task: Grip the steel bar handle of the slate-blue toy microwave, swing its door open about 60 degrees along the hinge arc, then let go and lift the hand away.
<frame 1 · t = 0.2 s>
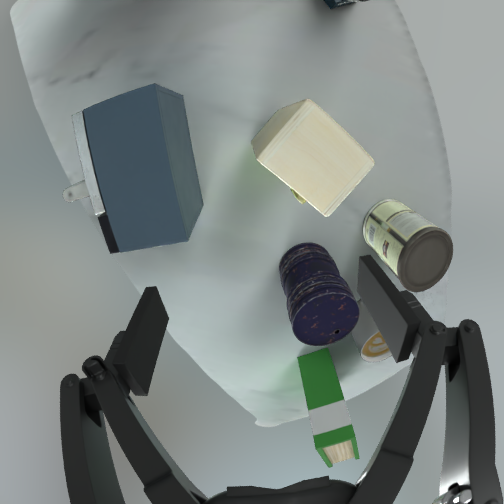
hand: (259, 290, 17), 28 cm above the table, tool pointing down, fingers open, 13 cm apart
microwave door: (92, 161, 32), point 7 cm above the table, hinge at 0.0°
storage jar: (305, 266, 49), on the table
microwave: (164, 156, 39), on the table
coffee can: (386, 224, 46), on the table
coffee mug: (368, 318, 56), on the table
hardback book: (319, 371, 63), on the table
toy refrigerator: (281, 142, 39), on the table
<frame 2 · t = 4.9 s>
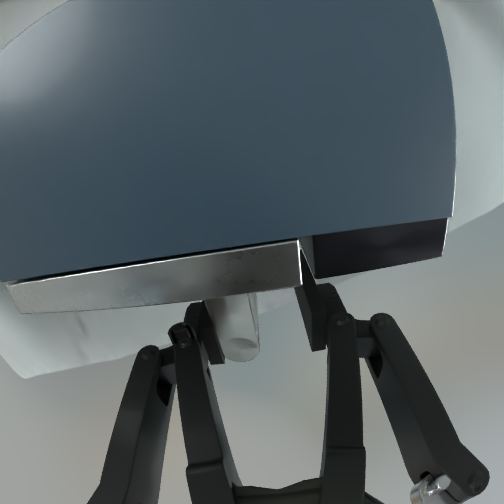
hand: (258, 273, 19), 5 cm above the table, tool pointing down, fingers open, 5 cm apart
microwave door: (177, 269, 16), point 7 cm above the table, hinge at -0.6°, touching gripper
microwave: (208, 112, 18), on the table
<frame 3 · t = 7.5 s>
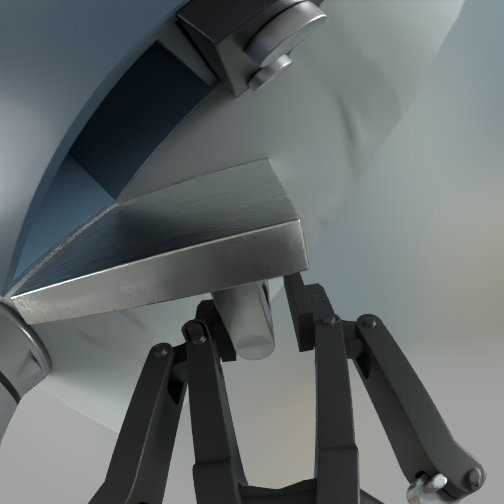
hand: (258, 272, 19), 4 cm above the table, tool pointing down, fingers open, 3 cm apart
microwave door: (185, 270, 16), point 7 cm above the table, hinge at 28.7°, touching gripper
microwave: (144, 86, 17), on the table
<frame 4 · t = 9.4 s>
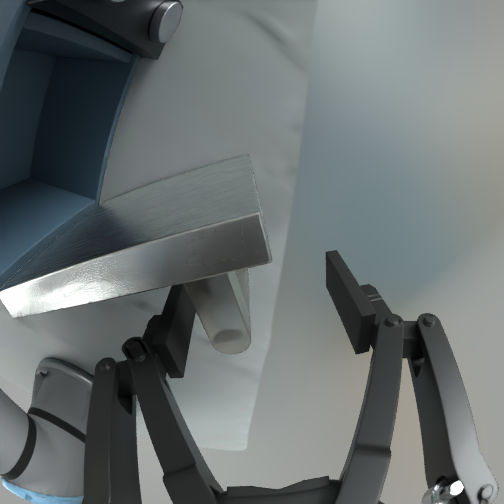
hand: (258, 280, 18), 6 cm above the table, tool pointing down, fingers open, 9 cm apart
microwave door: (164, 265, 16), point 7 cm above the table, hinge at 54.2°
microwave: (80, 95, 16), on the table
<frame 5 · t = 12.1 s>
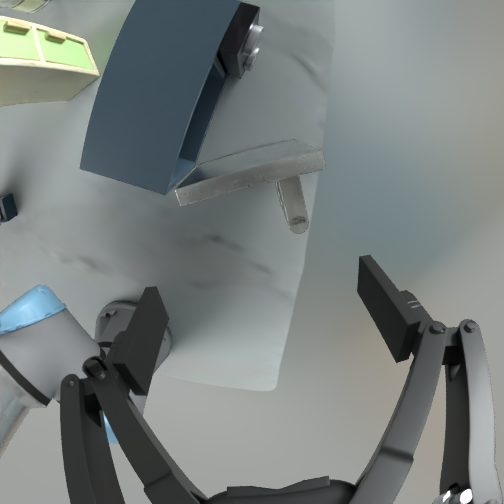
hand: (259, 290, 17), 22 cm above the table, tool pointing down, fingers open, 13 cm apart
microwave door: (257, 192, 29), point 7 cm above the table, hinge at 54.2°
microwave: (184, 93, 30), on the table
watch: (7, 205, 35), on the table
toy refrigerator: (79, 68, 26), on the table
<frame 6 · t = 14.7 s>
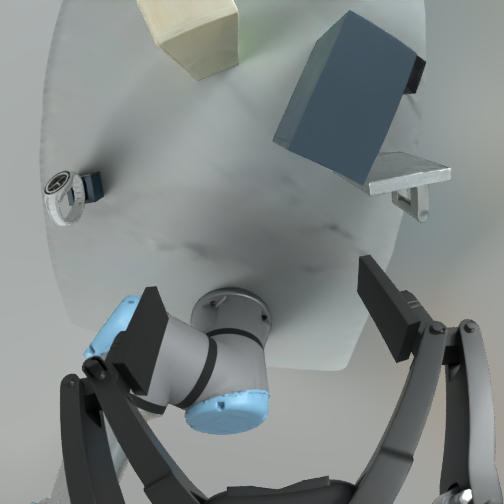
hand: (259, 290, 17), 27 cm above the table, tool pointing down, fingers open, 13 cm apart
microwave door: (390, 191, 34), point 7 cm above the table, hinge at 54.2°
microwave: (323, 100, 35), on the table
watch: (88, 185, 39), on the table
toy refrigerator: (211, 51, 31), on the table
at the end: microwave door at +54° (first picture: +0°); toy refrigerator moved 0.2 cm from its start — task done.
